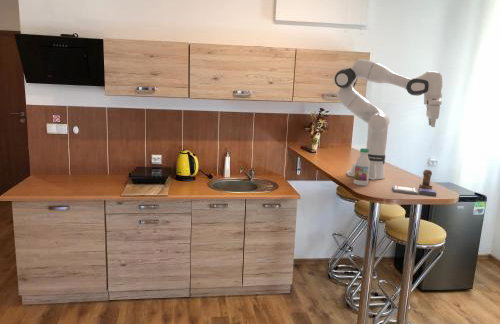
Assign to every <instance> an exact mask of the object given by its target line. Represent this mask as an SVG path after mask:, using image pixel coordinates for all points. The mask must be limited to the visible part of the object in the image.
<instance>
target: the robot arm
mask: <svg viewBox="0 0 500 324" xmlns="http://www.w3.org/2000/svg"><path fill="white" fill-rule="evenodd" d="M358 79H363V80H365V81H368V82H371V83H375V84H389V85H393V86H397V87H399V88H403V89H404V90H406V91H407V92H408V94H409V95H411V96H416V97H418V96H421V95H424V96H423V105H425V106H426V112H425V113H426V114H425V115H426V118H427V119H428V126H431V128H435V127H436V121H437V120H438V119H439V116H440V110H441V105H442V104H443V103H442V101H443V100H442V99H443V95H442V94H443V93H442V89H443V75H442V74H441V73H440V72H439V71H432V70H428V71H426V72H424V73H423V74H422V75H419V76H417V77H413V78H411V77H407V76H404V75H400V74H398V73H396V72H393V71H392V70H391V69H389V68H388V67H387V66H385V65H383V64H381V63H379V62H377V61H373V60H369V59H365V58H364V59H363V58H359V59H357V60H356V61H355V62H354V63H353V65H352V67H345V68H342V69H341V70H339V71H337V72H336V73H335V75H334V84H335V85H336V86H337V87H338V88H339V90H338V91H337V94H336V98H337V99H338V101H339V102H340V103H341V104H342V105H343V106H344V107H345V108H346V109H347V110H349V111H350V112H351V113H352V114H354V115H355V116H356V117H357V118H358V119H361V121H363V122H365V123H366V124H367V135H366V136H367V140H366V148H365V149H369V153H368V158H369V161H370V171H369V179H368V180H374V181H375V180H383V179H385V178H386V177H385V176H386V175H385V162H386V149H387V148H386V147H387V139H388V138H387V137H388V130H389V124H390V118H389V116H388V114H387V113H386V112H384V111H383V110H382V109H380V108H378V107H377V106H376V105H375V104H373V103H372V102H370V101H369V100H368V99H366V97H364V96H363V95H361V94H360V93H359V92H358V91H356V90H355V86H356V84H357V81H358ZM356 162H357V161H355V162H353V163H352V164H351V167H350V170H347V171H346V175H347V176H349V177H353V178H354V175H355V167H356Z"/></svg>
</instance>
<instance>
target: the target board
mask: <svg viewBox="0 0 500 324" xmlns="http://www.w3.org/2000/svg"><path fill="white" fill-rule="evenodd" d="M392 192H393V193H401V194H408V195H416V196H418V195H419V192H418V189H417V188H416V187H412V186H411V187H409V186H402V185H392Z"/></svg>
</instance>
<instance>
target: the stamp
mask: <svg viewBox="0 0 500 324" xmlns="http://www.w3.org/2000/svg"><path fill="white" fill-rule="evenodd" d="M422 175H423V177H422V182H420V183H419V185H418V190H419V189H420V188H422V189H431V190H433V184H431V177H432V175H433V172H432V171H431V170H430V169H425V170H424V171H423V173H422Z"/></svg>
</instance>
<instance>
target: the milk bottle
mask: <svg viewBox="0 0 500 324" xmlns="http://www.w3.org/2000/svg"><path fill="white" fill-rule="evenodd" d="M368 153H369V149H366V148H363V147H362V148H360V149H359V156H358V158H357V160H356V161H355V162H356V167H355V175H354V177H353V184H354V185H356V186H368V185H369V180H370V179H369V171H370V161H369V158H368Z"/></svg>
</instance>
